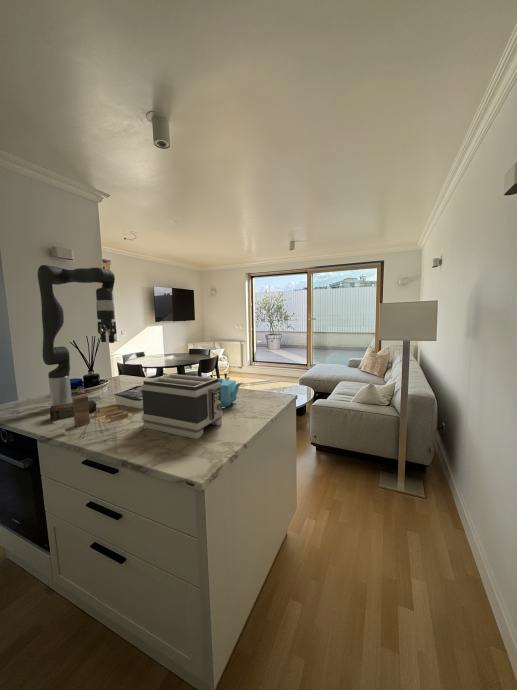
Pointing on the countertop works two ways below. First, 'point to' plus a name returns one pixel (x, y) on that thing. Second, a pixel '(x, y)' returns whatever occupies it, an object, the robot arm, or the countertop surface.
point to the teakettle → (228, 391)
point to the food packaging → (130, 397)
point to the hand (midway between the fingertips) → (107, 342)
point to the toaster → (181, 404)
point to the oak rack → (110, 413)
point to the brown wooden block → (81, 410)
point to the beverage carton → (68, 410)
